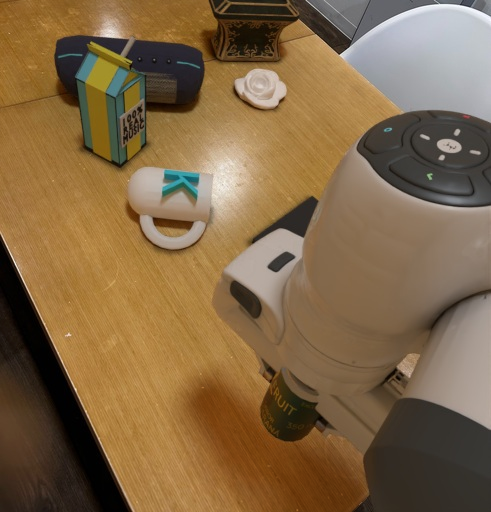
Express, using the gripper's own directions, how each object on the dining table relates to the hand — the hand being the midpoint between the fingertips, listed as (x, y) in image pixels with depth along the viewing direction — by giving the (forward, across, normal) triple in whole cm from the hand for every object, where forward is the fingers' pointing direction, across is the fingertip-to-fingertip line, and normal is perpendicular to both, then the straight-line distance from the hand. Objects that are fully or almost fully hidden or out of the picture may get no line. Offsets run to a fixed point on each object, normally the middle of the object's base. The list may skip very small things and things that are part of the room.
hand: (296, 398), depth 45 cm
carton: (+15, +50, -17) cm, 54 cm away
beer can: (+5, 0, 0) cm, 5 cm away
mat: (+15, +12, -27) cm, 33 cm away
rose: (+15, +46, -47) cm, 67 cm away
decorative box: (+15, +59, -54) cm, 81 cm away
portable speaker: (+14, +59, -27) cm, 66 cm away
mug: (+15, +33, -13) cm, 38 cm away
